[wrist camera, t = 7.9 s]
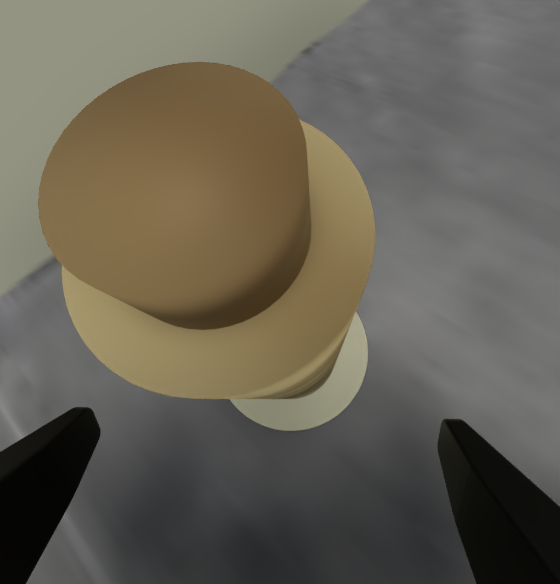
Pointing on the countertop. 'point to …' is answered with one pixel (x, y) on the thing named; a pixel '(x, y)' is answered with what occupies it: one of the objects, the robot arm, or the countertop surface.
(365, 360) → the coaster
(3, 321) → the countertop surface
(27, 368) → the countertop surface
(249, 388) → the pepper mill
